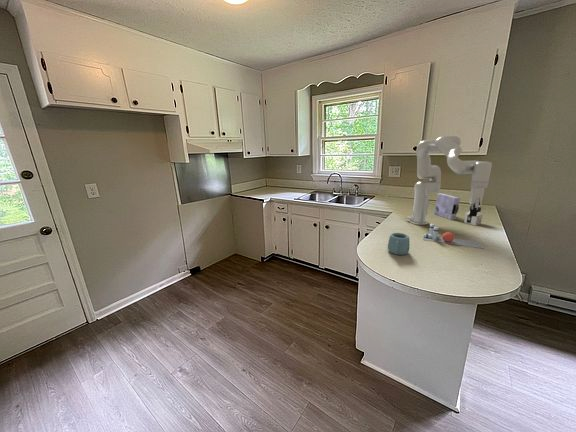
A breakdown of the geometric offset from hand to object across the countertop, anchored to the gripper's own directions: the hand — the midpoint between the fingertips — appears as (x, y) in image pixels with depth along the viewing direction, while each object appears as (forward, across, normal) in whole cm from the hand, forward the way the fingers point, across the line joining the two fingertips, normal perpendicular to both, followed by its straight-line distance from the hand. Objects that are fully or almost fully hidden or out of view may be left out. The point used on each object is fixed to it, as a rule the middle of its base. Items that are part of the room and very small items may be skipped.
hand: (472, 215), depth 139 cm
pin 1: (+17, -2, -19) cm, 26 cm away
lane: (+17, 0, -8) cm, 19 cm away
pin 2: (+17, +3, -17) cm, 24 cm away
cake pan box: (+17, -58, -9) cm, 61 cm away
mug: (+17, +33, -35) cm, 51 cm away
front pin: (+16, 0, -14) cm, 21 cm away
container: (+17, -47, +8) cm, 51 cm away
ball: (+14, +2, -10) cm, 18 cm away
